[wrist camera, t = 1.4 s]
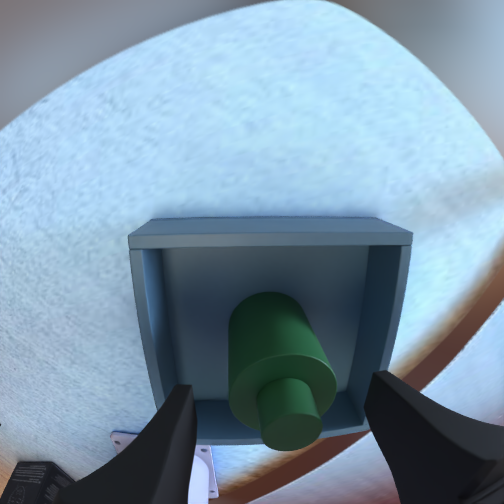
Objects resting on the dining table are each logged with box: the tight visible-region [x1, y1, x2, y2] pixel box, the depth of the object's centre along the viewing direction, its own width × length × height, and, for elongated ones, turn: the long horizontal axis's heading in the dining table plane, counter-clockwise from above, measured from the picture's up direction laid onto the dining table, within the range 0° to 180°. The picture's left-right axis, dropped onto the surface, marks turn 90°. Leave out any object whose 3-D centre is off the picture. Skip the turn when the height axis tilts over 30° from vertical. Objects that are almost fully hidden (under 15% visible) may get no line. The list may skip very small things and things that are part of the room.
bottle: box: [228, 292, 337, 451], centre depth 13 cm, size 4×4×8 cm
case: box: [128, 217, 413, 445], centre depth 16 cm, size 12×12×4 cm
